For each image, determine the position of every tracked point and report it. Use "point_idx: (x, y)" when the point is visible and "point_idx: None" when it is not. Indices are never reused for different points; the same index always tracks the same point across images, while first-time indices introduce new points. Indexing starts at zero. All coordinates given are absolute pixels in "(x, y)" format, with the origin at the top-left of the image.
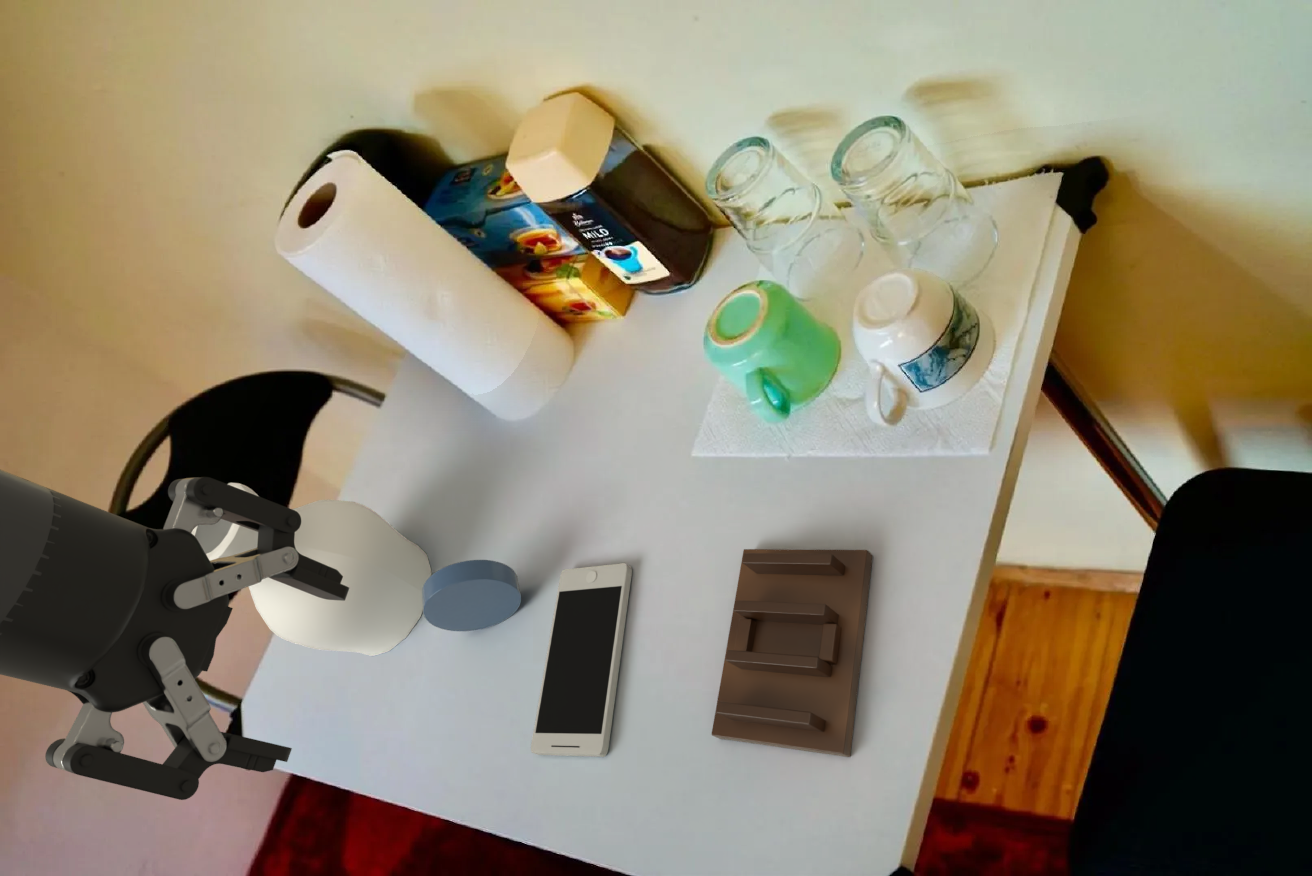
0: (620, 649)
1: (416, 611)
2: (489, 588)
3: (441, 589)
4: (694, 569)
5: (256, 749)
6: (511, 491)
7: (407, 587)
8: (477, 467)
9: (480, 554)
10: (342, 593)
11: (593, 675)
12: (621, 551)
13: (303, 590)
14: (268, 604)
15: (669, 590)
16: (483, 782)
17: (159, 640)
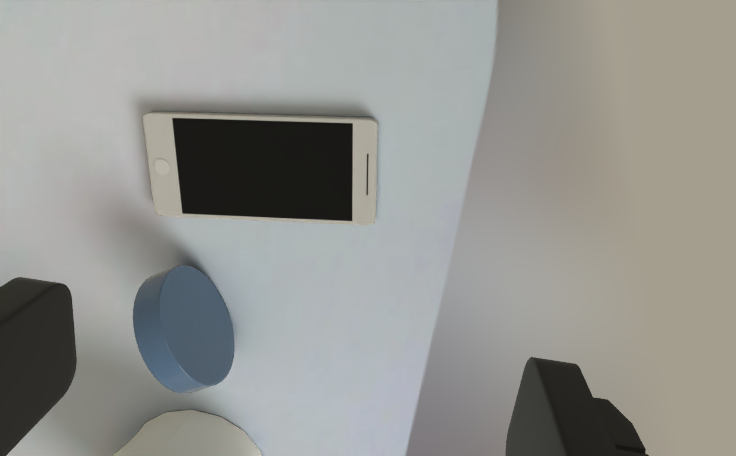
0: (252, 114)
1: (213, 421)
2: (174, 296)
3: (172, 354)
4: (149, 15)
5: (593, 444)
6: None
7: (181, 433)
8: None
9: None
10: (36, 286)
11: (283, 145)
12: (130, 133)
13: (17, 428)
14: None
15: (177, 51)
16: (405, 291)
17: None
